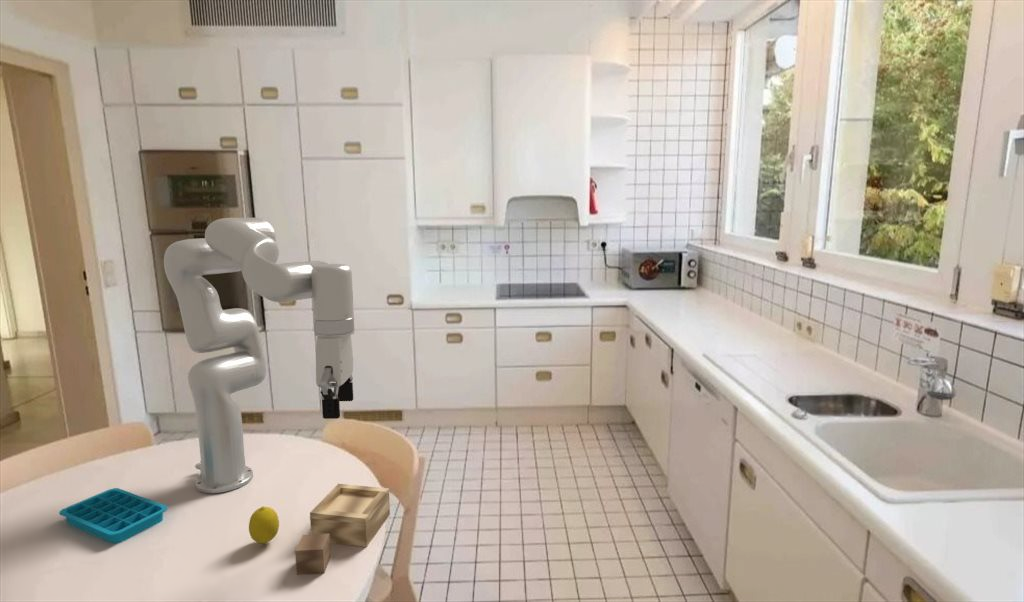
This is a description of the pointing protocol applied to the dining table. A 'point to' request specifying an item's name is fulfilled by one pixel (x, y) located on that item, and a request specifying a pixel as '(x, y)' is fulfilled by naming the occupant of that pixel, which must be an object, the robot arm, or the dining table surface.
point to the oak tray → (351, 514)
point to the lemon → (263, 525)
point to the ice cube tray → (114, 515)
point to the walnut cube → (313, 554)
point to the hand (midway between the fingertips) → (338, 409)
